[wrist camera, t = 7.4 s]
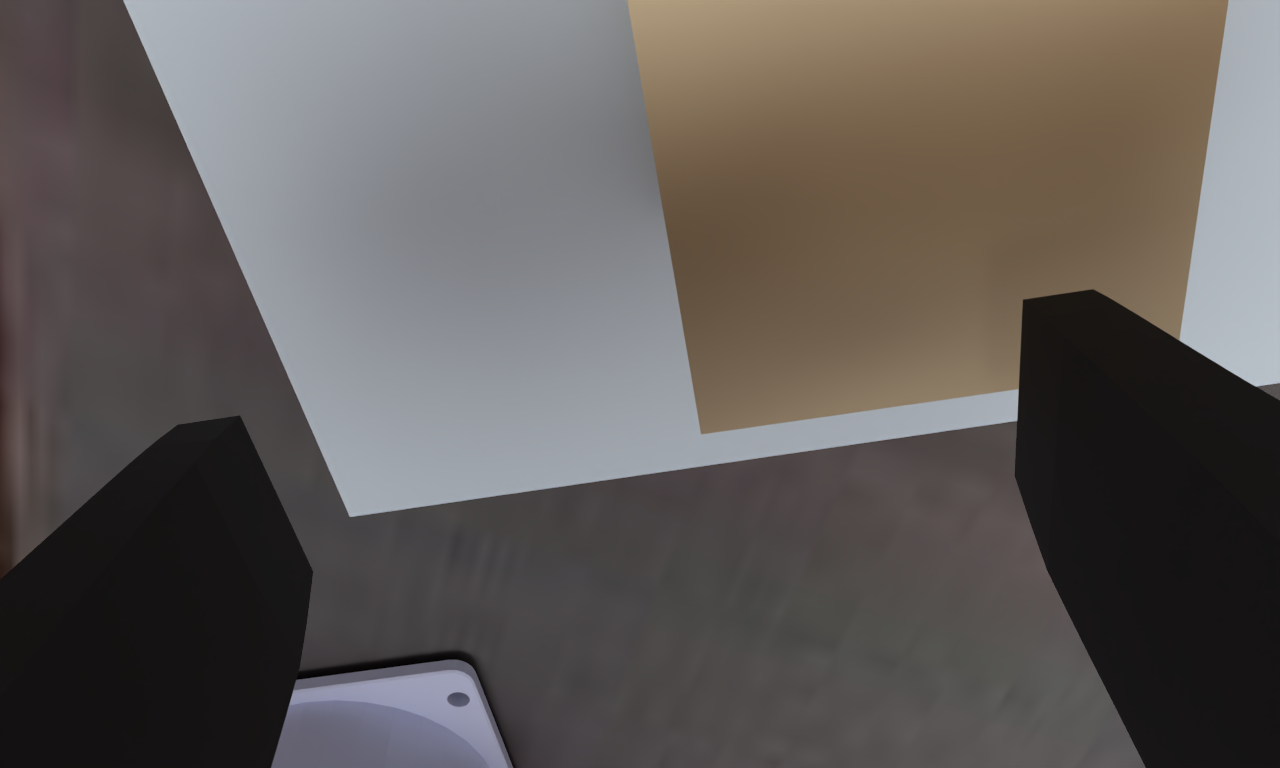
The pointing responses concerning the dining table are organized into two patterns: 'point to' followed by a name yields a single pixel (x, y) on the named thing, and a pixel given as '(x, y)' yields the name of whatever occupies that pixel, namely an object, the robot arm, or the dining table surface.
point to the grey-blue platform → (550, 238)
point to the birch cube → (915, 184)
